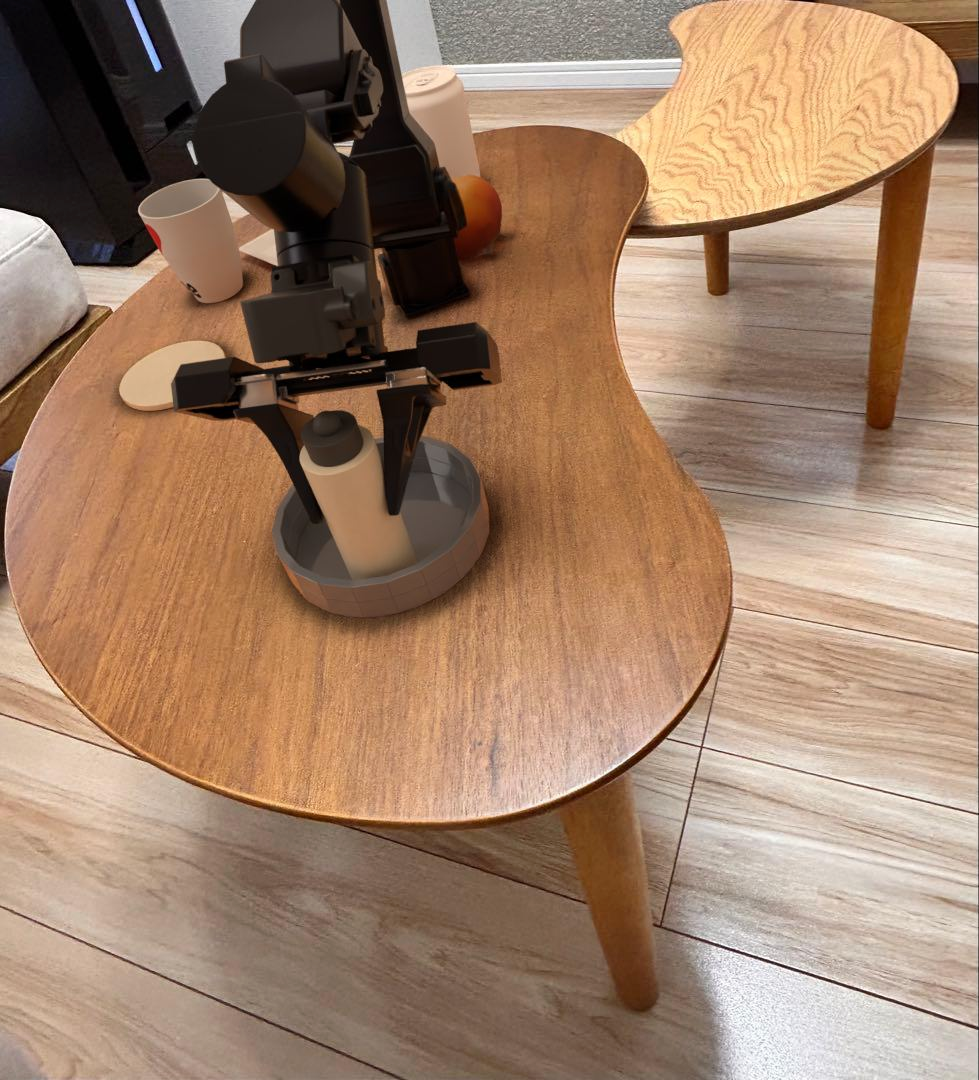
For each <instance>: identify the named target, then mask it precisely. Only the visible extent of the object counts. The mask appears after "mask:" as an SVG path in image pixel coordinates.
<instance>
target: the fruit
mask: <svg viewBox="0 0 979 1080" xmlns="http://www.w3.org/2000/svg"><path fill="white" fill-rule="evenodd" d="M452 181H453V182H454V183H455V184H456V186H457V189H458V191H459V194H460V197H461V199H462V202H463V205H464V210H465V214H466V219H467V227H465V228H463V229H462V230H461V231H459V234H458V237H457V238H454V241H455V246H456V250H457V255H458V259H459V262H461V261H469V260H473V259H475V258H478V257H480V256H485V255H491V256H493V247H494V244H495V242H496V239H497V237H500V236H501V237H504V238H505V237H507V235H506V234H504V233H501V229H502V218H503V206H502V201H501V199H500V196H499V194H498V192H497V190H496V188H495V187H494V186H493V185H492V184H491V183H490V182H488V181H487V180H485V179H484V178H483V177H478V176H475V175H466V176H459V177H457V178H454V179H452Z"/></svg>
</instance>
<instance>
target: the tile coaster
mask: <svg viewBox="0 0 979 1080" xmlns="http://www.w3.org/2000/svg"><path fill="white" fill-rule="evenodd" d="M222 358H227V357H226V353H225V352H224V349H222V347H221V346H219V345H218V344H216V343H214V342H212V341H207V340H187V341H186V340H185V341H181V342H177V343H173V344H169V345H167V346H165V347H161V348H159V349H157V350H155V351H152V352H151V353H149V354H148V355H146V356H144V357H143V358H141V359H140V360H138V361H137V362H136V363H134V364H133V365H132V366H131V367H130V368H129V369H128V370H127V371H126V373H125V374H124V375H123V377H122V379H121V381H120V383H119V387H118V388H119V390H118V391H119V395H120V398H121V399H122V401H123V402H124V403H125V405H127V406H128V407H130V408H132V409H134V410H138V411H144V412H147V411H148V412H154V411H162V410H167V409H172V408H174V407H173V398H172V389H171V383H172V381H173V379H174V377H175V374H176V373H177V371H178V369H179V367H180V365H181V364H187V363H194V362H201V361H208V360H215V359H222Z"/></svg>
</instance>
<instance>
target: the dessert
mask: <svg viewBox="0 0 979 1080" xmlns="http://www.w3.org/2000/svg"><path fill="white" fill-rule="evenodd" d="M238 248H239V252H240V253H241V252H242V253H244V254H246V255H249V256H251V257H254V258H256V259H259V260H261V261H264V262H266V263H268V264H270V265H272V266H274V267H276V266H278V262H277V253H276V244H275V235H274V229H271V228H270V229H269V230H267V231H266V232H263V233H262V234H260V235H259V236H257V237H255V238H253V239H251V240H250V241H248V242H246V243H245V244H243V245H242V246H239V247H238Z"/></svg>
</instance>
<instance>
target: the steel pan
mask: <svg viewBox="0 0 979 1080" xmlns="http://www.w3.org/2000/svg"><path fill="white" fill-rule="evenodd" d="M374 439H375V442H376V445H377V448H378V451H379V453H380V456H381V459H382V462H383V465H384V438H383V436H382V437H376V438H374ZM488 504H489V503H488V499H487V496H486V492H485V489H484V485H483V482H482V477H481V476H480V474H479V472H478V470H477V468H476V466H475V464H474V463H473V461H472V459H471V458H470V457H469V456H467V454H465V453H464V452H462V451H461V450H459V448H457V447H455V446H454V445H453V444H451V443H449V442H445V441H442V440H439V439H436V438H433V437H430V436H424V435H422V436H421V438H420V441H419V443H418V446H417V449H416V452H415V456H414V460H413V463H412V467H411V471H410V475H409V478H408V482H407V486H406V490H405V494H404V498H403V502H402V505H401V509H400V513H401V516H402V518H403V521H404V524H405V527H406V530H407V533H408V535H409V538H410V541H411V544H412V547H413V550H414V552H415V555H416V558H417V561H418V564H416V565H413V566H410V567H408V568H405V569H403V570H400V571H397V572H395V573H392V574H390V575H387V576H381V577H374V578H367V579H360V580H352V578H351V576H350V574H349V571H348V569H347V567H346V565H345V562H344V560H343V558H342V556H341V553H340V551H339V549H338V547H337V544H336V542H335V540H334V538H333V535H332V533H331V531H330V529H329V526H328V524H327V522H326V520H325V517H324V522H323V524H312V522H311V521H310V518H309V516H308V514H307V512H306V510H305V508H304V506H303V504H302V502H301V500H300V497H299V495H298V493H297V491H296V489H295V487H294V485H293V484H292V485H291V486H290V487H289V488H288V490H287V492H286V493H285V495H284V496H283V497H282V499H281V501H280V503H279V504H278V506H277V508H276V510H275V515H274V519H273V520H274V521H273V525H272V530H271V535H272V538H273V543H274V548H275V552H276V554H277V557H278V558H279V559H278V560H279V561H280V563H281V564H282V566H283V569H284V570H285V572H286V575H287V576H288V578H289V579H290V582H291V584H292V585H293V586H294V587H295V588H296V590H298V592H299V593H300V594H301V595H302V597H303V598H304V599H305V600H306V601H307V602H308V603H310V604H312V605H314V606H316V607H318V608H319V609H321V610H323V611H326V612H329V613H330V614H334V615H338V616H343V617H349V618H350V617H351V618H363V619H364V618H365V619H367V618H376V617H386V616H391V615H395V614H400V613H404V612H406V611H410V610H412V609H415V608H417V607H420V606H422V605H424V604H427V603H429V602H431V601H433V600H434V599H437V598H438V597H440V596H442V595H443V594H444V593H446V592H447V591H449V590H450V589H451V588H452V587H454V586H455V585H457V583H459V582H461V580H462V579H463V578H464V577H465V576H466V575H467V574H468V573H469V572H470V571H471V569H473V567H474V565H475V564H476V563H477V561H478V560H479V559H480V557H481V556H482V552H483V551H484V549H485V546H486V543H487V540H488V537H489V534H490V509H489V505H488Z"/></svg>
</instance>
